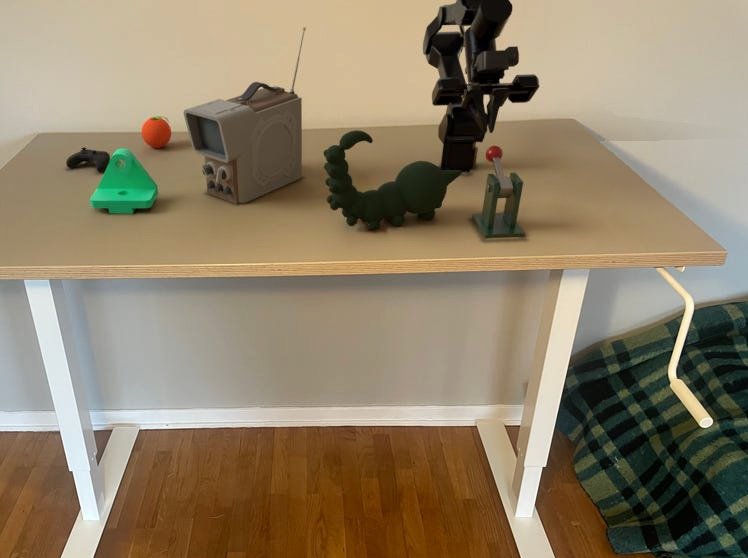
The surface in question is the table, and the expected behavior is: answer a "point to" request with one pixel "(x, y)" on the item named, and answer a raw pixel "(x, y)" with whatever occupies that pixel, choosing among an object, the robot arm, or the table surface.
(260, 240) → the table surface
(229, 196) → the portable television
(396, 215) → the toy figurine
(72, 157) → the gaming controller
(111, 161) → the camera mount
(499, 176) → the lever
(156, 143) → the clementine
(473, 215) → the bracket
